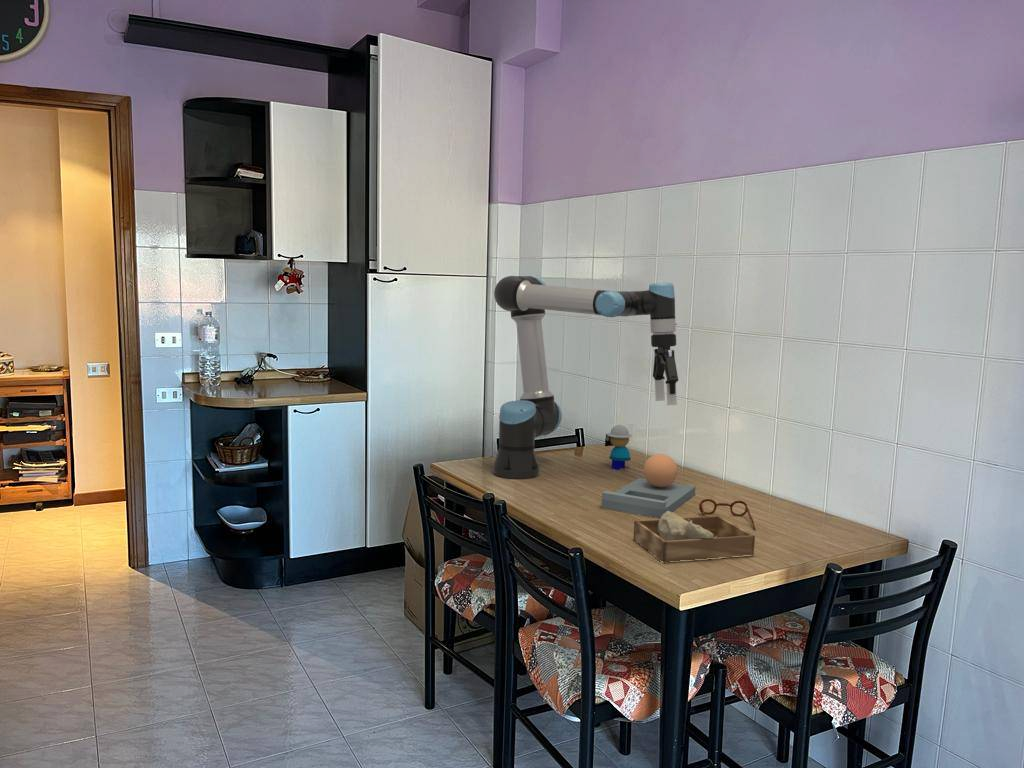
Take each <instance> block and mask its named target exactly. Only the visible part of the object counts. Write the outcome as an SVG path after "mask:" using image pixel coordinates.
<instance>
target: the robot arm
mask: <svg viewBox="0 0 1024 768" xmlns="http://www.w3.org/2000/svg"><path fill="white" fill-rule="evenodd" d="M648 287H649V288H648V289H646V290H638V291H637V290H636V291H635V290H634V291H633V290H631V291H627V290H625V291H622V290H621V291H617V290H604V289H603V290H601V289H592V288H581V287H578V288H577V287H571V286H570V287H568V286H558V285H556V286H555V285H547V284H546V283H545V282H544V281H543V280H542V279H540V278H539V277H535V276H532V275H523V276H522V275H521V276H520V275H519V276H518V275H509V276H508V275H507V276H505V277H502V278H501V279H500V280H499V281H498V282H497V283H496V285H495V287H494V290H493V294H494V295H493V296H494V299H495V302H496V304H497V305H498V306H499V308H501V309H503V310H504V311H506V312H510V319H511V320H513V322H515V323H516V332H517V341H518V344H517V345H518V351H519V360H520V370H521V381H522V388H523V389H522V390H523V392H522V394H521V396H520V397H519V399H517V400H510V401H507V402H504V403H503V404H502V405H501V407H500V410H499V415H498V419H499V423H498V425H499V431H498V451H497V454H496V457H495V459H494V462H493V465H492V473H493V475H495V476H498V477H500V478H505V479H516V480H517V479H521V480H522V479H523V478H524V479H531V478H536V477H538V476H539V475H540V466H539V462H538V458H537V456H536V452H535V444H536V443H535V440H536V438H538V437H542V436H548V435H549V434H551V433H553V432H554V431H556V430H557V429H558V428H559V427H560V425H561V422H562V416H563V413H562V409H561V407H560V405H559V404H557V402H556V401H555V395H554V393H553V392H551V391H550V389H549V380H548V370H547V360H546V351H545V342H544V332H543V331H544V330H543V324H542V323H543V322H542V319H543V318H544V317H545V316H546V311H557V312H566V313H567V312H568V313H576V314H577V313H578V314H585V315H586V314H587V315H595V316H602V317H606V318H616V317H631V316H632V317H633V316H634V317H635V316H650V321H649V323H650V333H651V335H650V342H651V343H650V345H651V347H653V348H654V350H653V351H654V359H653V370H652V371H653V372H652V378H653V379H654V390H655V391H654V393H655V401H656V402H661V401H665V386H666V405H667V406H677V403H678V402H677V401H678V400H677V397H678V396H677V382H679V375H678V371H677V370H678V369H677V364H676V359H675V350H674V349H671V347H676V345H677V335H676V333H675V332H676V329H677V328H676V326H677V325H678V322H677V321H676V295H675V287H674V284H673V283H672V282H655V283H650V284H649V286H648ZM664 375H665V376H664ZM665 384H666V385H665Z"/></svg>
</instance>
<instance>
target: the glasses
mask: <svg viewBox="0 0 1024 768" xmlns="http://www.w3.org/2000/svg"><path fill="white" fill-rule="evenodd" d="M705 502H711V503H712V504H713V505H714V507H713V510H711V511H708V512H706V511H704V506H703V504H704V503H705ZM735 504H743V505H744V508H745V509H744V511H743V512H742V513H735V512H734V511H733V507H734V505H735ZM720 506H724V507H729V510H730V513H731V515H733V516H734V517H743V516H745V515H746V514H748V517H749V519H750V521H751V524H752V529H753V531H754V530H756V531H757V529H756V526H755V522H754V519H753V517H752V515H751V512H750V510H749V507H748V505H747V502H745V501H744V500H743V501H742V500H735V501H732V502H731V503H724V502H718V503H717V502H716V501H715V500H714V499H711V498H704V499H702V500H701V501H700V502H699V505H698V509H699V512H700V513H701V514H702V517H705V516H706V515H713V514H715V512H716V510H717V507H720Z"/></svg>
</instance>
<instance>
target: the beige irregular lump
mask: <svg viewBox="0 0 1024 768" xmlns="http://www.w3.org/2000/svg"><path fill="white" fill-rule="evenodd" d="M683 518H684V517H682V516H680V515H677V514H676V513H675V512H670V511H666V512H665V513H664V514H663V515H662V517H661V518H659V519H660V520H659V523H658V532H659V535H660V537H661V538H662V539H664V540H665V541H674V540H689V539H711V538H714V537H715V536H714V534H713V533H711V532H710V531H708V530H705V529H703V528H702V527H701V526H700V525H696V524H693V523H692V520H690V522H688V521H686V520H684V519H683ZM687 520H689V519H687Z"/></svg>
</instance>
